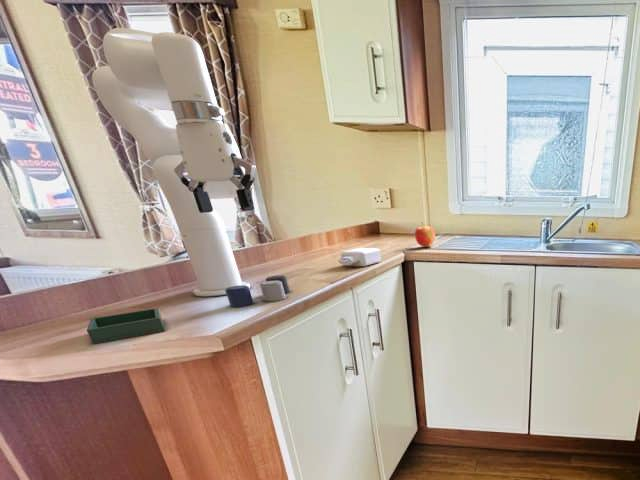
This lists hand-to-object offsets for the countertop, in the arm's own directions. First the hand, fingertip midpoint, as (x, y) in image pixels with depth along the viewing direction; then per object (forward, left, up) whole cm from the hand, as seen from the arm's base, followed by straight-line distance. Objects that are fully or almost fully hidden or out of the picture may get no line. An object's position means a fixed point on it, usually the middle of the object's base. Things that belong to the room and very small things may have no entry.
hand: (227, 211), depth 89 cm
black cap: (-8, +7, -20) cm, 22 cm away
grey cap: (-1, +4, -20) cm, 20 cm away
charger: (-32, +36, -20) cm, 53 cm away
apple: (-55, +75, -20) cm, 96 cm away
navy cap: (-1, -3, -20) cm, 20 cm away
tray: (+6, -23, -20) cm, 30 cm away
